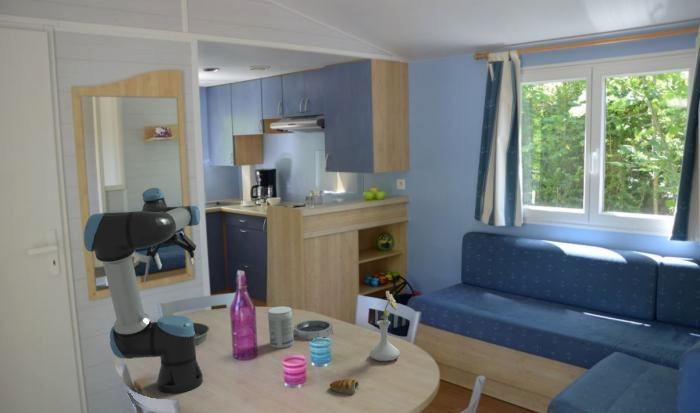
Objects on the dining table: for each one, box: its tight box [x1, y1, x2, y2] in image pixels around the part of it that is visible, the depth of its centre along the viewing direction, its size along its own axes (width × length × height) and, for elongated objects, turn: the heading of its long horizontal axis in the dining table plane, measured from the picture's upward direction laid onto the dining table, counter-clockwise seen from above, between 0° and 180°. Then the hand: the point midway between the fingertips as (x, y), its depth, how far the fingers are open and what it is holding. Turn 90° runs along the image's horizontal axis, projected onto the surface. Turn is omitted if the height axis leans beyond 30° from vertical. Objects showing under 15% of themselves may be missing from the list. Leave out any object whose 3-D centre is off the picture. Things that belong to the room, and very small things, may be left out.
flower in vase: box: [369, 290, 401, 362], centre depth 213 cm, size 13×11×25 cm
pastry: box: [329, 378, 360, 395], centre depth 188 cm, size 9×7×4 cm
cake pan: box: [193, 322, 211, 347], centre depth 240 cm, size 25×25×4 cm
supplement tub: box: [267, 305, 295, 349], centre depth 231 cm, size 10×10×15 cm
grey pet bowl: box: [293, 319, 334, 341], centre depth 244 cm, size 16×16×3 cm
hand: (176, 265), depth 240 cm, fingers open, 13 cm apart
